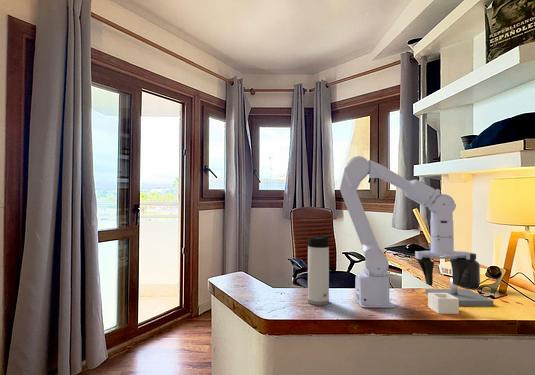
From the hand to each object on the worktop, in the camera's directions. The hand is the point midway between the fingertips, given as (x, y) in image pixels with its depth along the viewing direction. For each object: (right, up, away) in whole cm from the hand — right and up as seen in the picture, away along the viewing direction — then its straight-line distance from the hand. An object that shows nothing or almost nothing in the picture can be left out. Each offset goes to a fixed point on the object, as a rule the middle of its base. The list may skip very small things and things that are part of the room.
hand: (442, 284), depth 89 cm
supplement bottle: (+23, -9, +25) cm, 35 cm away
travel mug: (-34, -7, +6) cm, 35 cm away
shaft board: (+10, -8, +10) cm, 16 cm away
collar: (0, -7, 0) cm, 7 cm away
